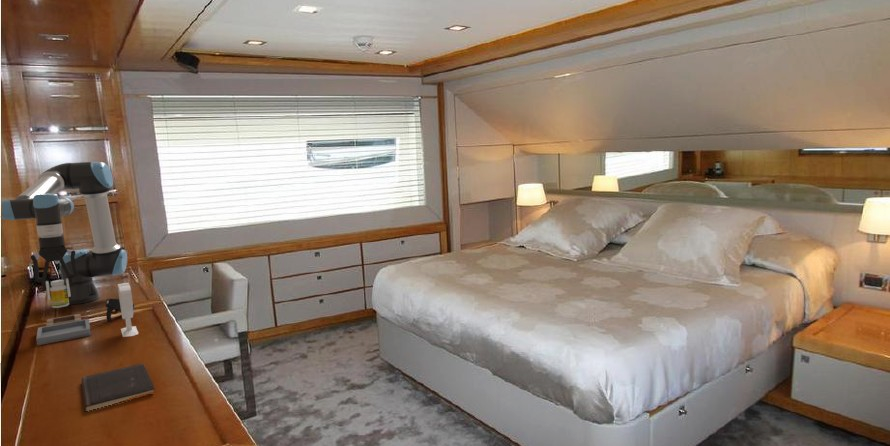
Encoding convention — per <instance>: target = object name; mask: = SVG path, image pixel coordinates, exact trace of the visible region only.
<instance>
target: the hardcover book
mask: <svg viewBox="0 0 890 446" xmlns="http://www.w3.org/2000/svg"><path fill="white" fill-rule="evenodd" d="M81 388H82V389H81V390H82V395H83V398H82V399H83V406H84V412H85V413H87V412H86V411H88V412H90V411H89V410H92V411H94V410H93V409H96V410H98V409H97V408H99V409H102V408H101V407H103V408H105V407H104V406H107V407H109V406H108V405H111V406H113V405H112V404H114V403H118V402H120V401H123V400H126V399H129V398H132V397H135V396H139V395H142V394H146V393H149V392H154V390H155V389H156V388H155V387H154V383H153V381H152V379H151V377H150V375H149V373H148V370H147V368H146V365H145V363H139V364H134V365H129V366H126V367H121V368H118V369H113V370H108V371H104V372H100V373H95V374H90V375H86V376H83V377H81ZM118 404H119V403H118Z"/></svg>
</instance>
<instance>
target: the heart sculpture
mask: <svg viewBox="0 0 890 446" xmlns="http://www.w3.org/2000/svg"><path fill="white" fill-rule="evenodd" d="M117 291H118V293H117V294H118V298H119V301H120V307H121V312H120V313H121V318H122V320H125V327H123V328H120V330H121V335H122V338H126V337H134V336H136V335H139V331H138V329H137V326H136V325H134V326H133V325H132V318H134V311H133V304H134V303H133V294H132V289H131V285H130V283H129V282H123V283H118V284H117Z"/></svg>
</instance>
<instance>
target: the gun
mask: <svg viewBox="0 0 890 446" xmlns="http://www.w3.org/2000/svg"><path fill="white" fill-rule="evenodd" d="M105 307H106V308H107V309H106V321H107V322H113V321H112V314H114V315H115V314H117V313H118V312H120V313H121V307H120V301H119V297H117V298H106V300H105ZM135 309H136V308H135V304H134V303H133V312H134V310H135Z"/></svg>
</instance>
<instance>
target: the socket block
mask: <svg viewBox="0 0 890 446" xmlns="http://www.w3.org/2000/svg"><path fill="white" fill-rule="evenodd" d="M81 315H82V314H81V313H75V314H70V315H64V316H59V317H58V316H57V317H51V318H47V319H46V325H45V326H50V325H56V324H61V323H67V322H73V321H78V320H82V316H81Z"/></svg>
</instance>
